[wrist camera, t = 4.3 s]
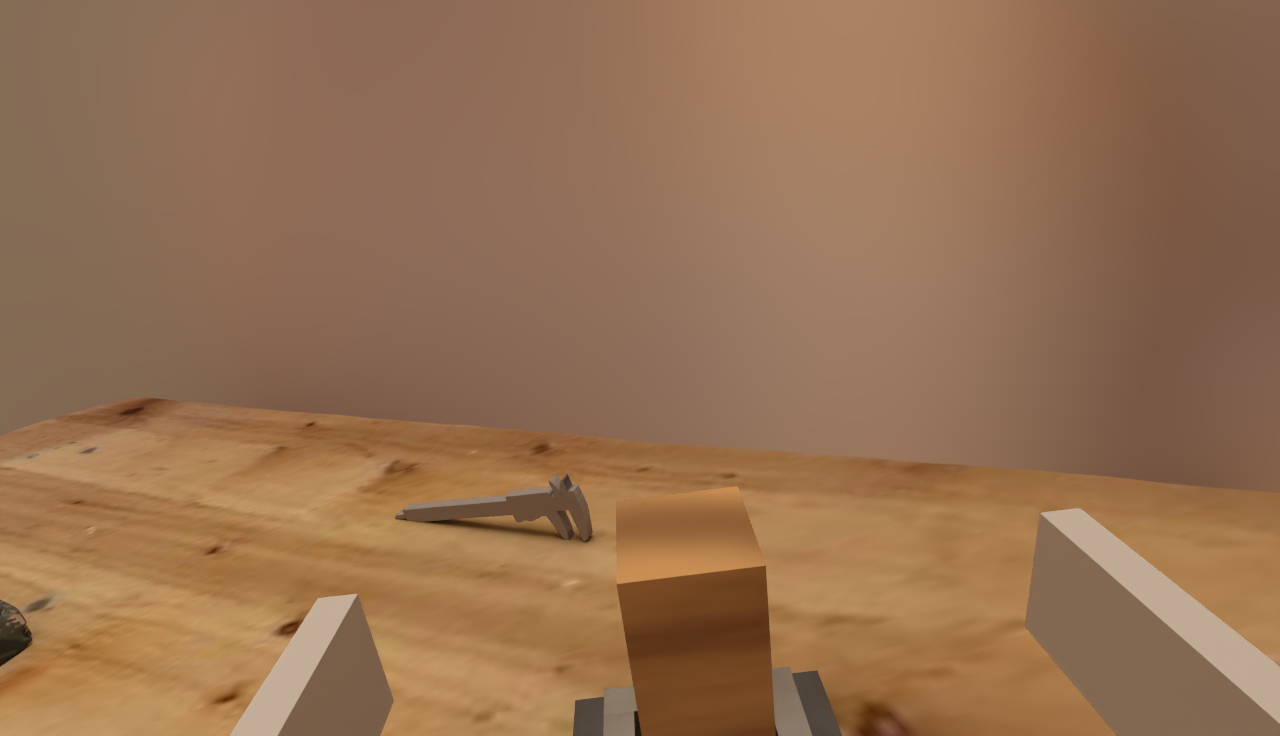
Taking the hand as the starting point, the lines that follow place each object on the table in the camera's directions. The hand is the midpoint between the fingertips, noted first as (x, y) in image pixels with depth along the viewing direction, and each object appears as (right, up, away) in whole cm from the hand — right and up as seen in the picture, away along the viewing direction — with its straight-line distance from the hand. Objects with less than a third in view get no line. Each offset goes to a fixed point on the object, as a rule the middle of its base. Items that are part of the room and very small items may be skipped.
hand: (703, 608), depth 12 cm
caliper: (-15, -10, +44) cm, 48 cm away
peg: (+2, -16, +17) cm, 23 cm away
